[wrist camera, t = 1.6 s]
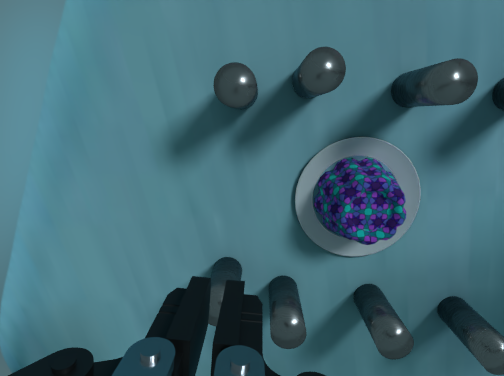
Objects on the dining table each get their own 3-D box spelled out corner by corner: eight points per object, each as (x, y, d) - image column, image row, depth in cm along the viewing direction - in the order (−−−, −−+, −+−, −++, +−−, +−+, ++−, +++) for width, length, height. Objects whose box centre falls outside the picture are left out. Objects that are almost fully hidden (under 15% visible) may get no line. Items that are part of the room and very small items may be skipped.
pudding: (292, 252, 32) (297, 278, 27) (296, 135, 30) (303, 140, 25) (409, 254, 32) (437, 280, 27) (424, 136, 29) (458, 141, 24)
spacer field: (531, 76, 28) (620, 64, 21) (462, 322, 33) (514, 376, 27) (227, 50, 28) (216, 29, 21) (211, 298, 34) (198, 345, 27)
